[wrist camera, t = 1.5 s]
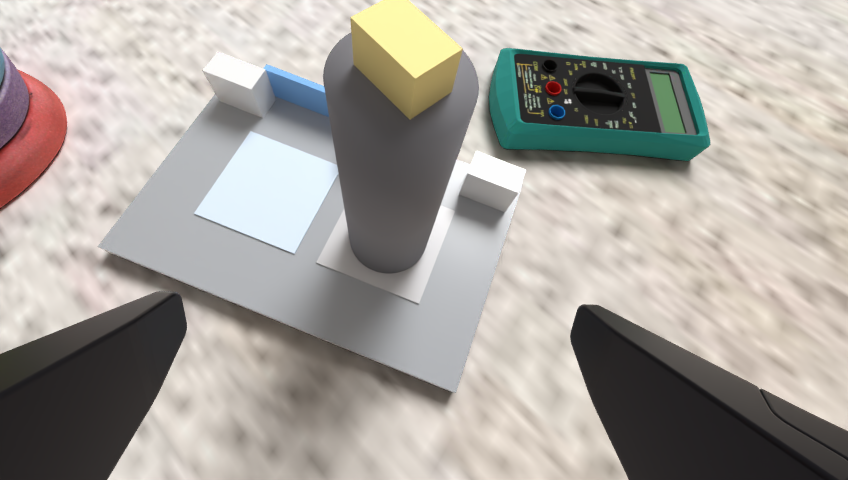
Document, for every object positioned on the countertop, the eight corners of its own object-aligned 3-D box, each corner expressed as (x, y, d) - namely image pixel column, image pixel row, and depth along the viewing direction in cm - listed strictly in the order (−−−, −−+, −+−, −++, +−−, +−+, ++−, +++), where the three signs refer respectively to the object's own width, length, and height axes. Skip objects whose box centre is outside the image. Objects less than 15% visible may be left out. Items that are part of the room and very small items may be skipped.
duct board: (517, 192, 25) (537, 163, 22) (452, 392, 21) (466, 392, 17) (236, 83, 26) (216, 40, 23) (109, 252, 21) (61, 228, 18)
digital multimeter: (484, 70, 30) (495, 38, 27) (667, 86, 31) (695, 57, 28) (490, 153, 27) (502, 126, 24) (689, 166, 28) (722, 142, 26)
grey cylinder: (442, 240, 22) (528, 49, 10) (384, 289, 21) (398, 137, 9) (392, 188, 23) (413, -49, 11) (333, 231, 22) (278, 16, 9)
